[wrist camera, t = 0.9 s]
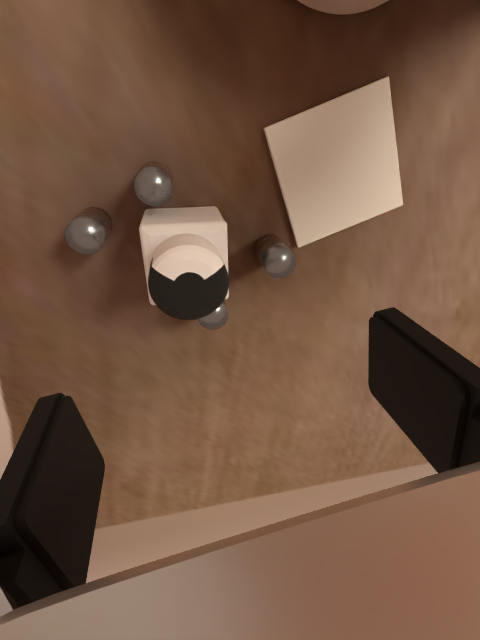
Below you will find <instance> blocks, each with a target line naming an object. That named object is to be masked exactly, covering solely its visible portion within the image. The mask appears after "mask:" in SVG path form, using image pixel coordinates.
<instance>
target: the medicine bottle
mask: <svg viewBox="0 0 480 640" xmlns="http://www.w3.org/2000/svg"><path fill="white" fill-rule="evenodd" d="M139 233H140V240H141V247H142V254H143V261H144V268H145V275H146V281H147V288H148V295H149V302H150V304H151V305H157V307H158V308H159V309H160V310H162V311H163V312H164V313H166V314H168V315H169V316H172V317H174V318H178V319H183V320H194V319H199V318H203V317H205V316H207V315H209V314H211V313H213V312H214V311H215V310H216V309H218V308H219V307H220V305H221V304H222V303H223V301H224V300H226V299H228V297H229V276H228V240H227V223H226V221H225V220H224V218H223V216H222V215H221V213H220V211H219V209H218V208H217V207H215V206H208V207H184V208H159V209H146V210H145V211H144V214H143V217H142V220H141V223H140V227H139Z"/></svg>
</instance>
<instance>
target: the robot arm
mask: <svg viewBox="0 0 480 640" xmlns="http://www.w3.org/2000/svg"><path fill="white" fill-rule="evenodd" d="M368 383H369V388H370V391H371V393H372V394H373V396H374V397H375V398H376V399H377V401H378V402H379V403H380V404H381V405H382V407H383V408H384V409H385V410H386V411H387V413H388V414H389V415H390V416H391V417H392V419H393V420H394V421H395V422H396V423H397V424H398V426H399V427H400V428H401V429H402V430H403V432H404V433H405V434H406V435H407V436H408V438H409V439H410V440H411V441H412V442H413V444H414V445H415V446H416V447H417V448H418V450H419V451H420V452H421V453H422V454H423V456H424V457H425V458H426V459H427V460H428V462H429V463H430V464H431V465H432V466H433V467H434V469H435V470H436V471H437V472H438V474H434V475H431V476H427V477H424V478H421V479H418V480H414V481H411V482H408V483H405V484H402V485H398V486H395V487H392V488H388V489H385V490H381V491H378V492H375V493H372V494H368V495H365V496H362V497H359V498H355V499H352V500H349V501H345V502H342V503H339V504H335V505H333V506H329V507H326V508H323V509H320V510H316V511H313V512H310V513H306V514H303V515H300V516H297V517H294V518H290V519H287V520H284V521H281V522H277V523H274V524H271V525H268V526H265V527H261V528H258V529H255V530H252V531H249V532H245V533H242V534H239V535H235V536H232V537H229V538H226V539H223V540H219V541H216V542H213V543H210V544H207V545H204V546H200V547H197V548H194V549H191V550H188V551H185V552H182V553H179V554H176V555H172V556H169V557H166V558H163V559H159V560H156V561H153V562H150V563H147V564H144V565H141V566H137V567H134V568H131V569H128V570H125V571H122V572H119V573H116V574H113V575H110V576H107V577H104V578H101V579H98V580H95V581H92V582H89V583H86V578H87V572H88V566H89V560H90V554H91V548H92V542H93V536H94V530H95V524H96V518H97V512H98V506H99V500H100V494H101V489H102V483H103V477H104V470H105V464H104V459H103V457H102V455H101V453H100V451H99V449H98V447H97V445H96V443H95V442H94V440H93V438H92V436H91V434H90V432H89V430H88V428H87V426H86V424H85V422H84V420H83V418H82V417H81V415H80V413H79V411H78V409H77V407H76V405H75V403H74V401H73V399H72V398H71V397H70V396H64V395H63V394H62V393H57V394H53V395H49V396H45V397H42V398H39V399H38V401H37V403H36V405H35V407H34V409H33V411H32V413H31V416H30V418H29V420H28V422H27V424H26V426H25V428H24V431H23V433H22V435H21V437H20V439H19V441H18V443H17V445H16V448H15V450H14V452H13V454H12V456H11V458H10V460H9V462H8V465H7V467H6V469H5V471H4V473H3V475H2V478H1V479H0V640H480V368H479V367H477V366H476V365H475V364H473V363H472V362H470V361H469V360H468V359H466V358H465V357H463V356H462V355H461V354H459V353H458V352H456V351H455V350H454V349H452V348H451V347H449V346H448V345H447V344H445V343H444V342H442V341H441V340H440V339H438V338H437V337H435V336H434V335H432V334H431V333H430V332H428V331H427V330H425V329H424V328H423V327H421V326H420V325H418V324H417V323H416V322H414V321H413V320H411V319H410V318H409V317H407V316H406V315H404V314H403V313H402V312H400V311H399V310H397V309H396V308H394V307H393V308H388V309H384V310H380V311H376V312H375V313H374V315H373V317H371V318H370V320H369V379H368Z"/></svg>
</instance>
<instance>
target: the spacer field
mask: <svg viewBox="0 0 480 640" xmlns="http://www.w3.org/2000/svg"><path fill="white" fill-rule="evenodd" d="M134 190H135V193H136V195H137V197H138V198H139V199H140V200H141V201H142V202H143V203H145V204H147V205H149V206H160V205H162V204H164V203H166V202H167V201H168V199H169V198H170V196H171V193H172V177H171V174H170V172H169V170H168V169H167V168H166V167H165V166H164V165H163V164H161V163H157V162H150V163H148V164H146V165H144V166H143V167H142V169H141V170H140V171H139V173H138V174H137V175H136V177H135V181H134ZM111 229H112V221H111V219H110V217H109V215H108V214H107V213H106V212H105V211H104V210H102V209H100V208H96V207H90V208H86V209H85V210H83V211H82V212H81V213H80V214H79V215H78V216H77V217H76V218H75V219H73V220H72V221H71V222H70V223H69V224H68V225H67V227H66V230H65V238H66V241H67V243H68V245H69V246H70V247H71V248H72V249H73V250H75V251H76V252H78V253H81V254H93V253H95V252H97V251H98V250H99V249H100V248H101V247H102V245H103V243H104V242H105V240H106V238H107V236H108V235H109V233H110V231H111ZM255 254H256V256H257V257H258V259H259V260H260V262H261V263H262V265H263V266H264V268H265V269H266V271H267V272H268V273H269V275H270V276H272V277H274V278H284V277H287V276H288V275H290V274H291V273H292V272H293V270H294V268H295V266H296V258H295V255H294V254H293V252H292V251H291V250H290V249H289V248H288V247H287V246H286V245H285V244H284V243H283V242H282V241H281V240H280V239H279V238H278V237H276V236H275V235H270V234H269V235H264V236H262V237H261V238H260V239H259V240H258V241H257V243H256V245H255ZM227 319H228V312H227V308H226V305H225V302H224V301H223V303H222V304H221V305H220V307H219V308H218V309H216V310H215V311H214V312H213V313H211V314H209V315H207V316H205V317H203V318H199V319H198V320H199V322H200V324H201V325H202V326H203V327H205V328H207V329H218V328H220V327H222V326H223V325H224V324H225V323H226V321H227Z"/></svg>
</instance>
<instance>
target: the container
mask: <svg viewBox="0 0 480 640" xmlns="http://www.w3.org/2000/svg"><path fill="white" fill-rule="evenodd" d="M297 1H299V2H300V3H302V4H304V5H306V6H307V7H310V8H312V9H315V10H317V11H321V12H325V13H329V14H340V15H344V14H355V13H359V12H364V11H367V10H370V9H372V8H375V7H377V6H379V5H381V4H383V3H385V2H387V1H389V0H297Z"/></svg>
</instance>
